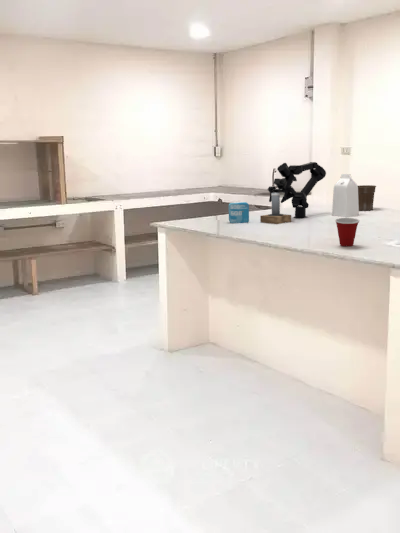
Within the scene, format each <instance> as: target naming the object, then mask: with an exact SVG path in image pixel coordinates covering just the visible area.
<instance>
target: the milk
mask: <svg viewBox="0 0 400 533" xmlns="http://www.w3.org/2000/svg"><path fill="white" fill-rule="evenodd" d="M358 186H359V185H358V184H357V183H356V182H355V181H354V179H353V178H352V176H351V174H350V173H342V174H341V176H340V178H339V179H338V180H337V182H336V183H335V184H334V186H333V190H332V191H333V192H332V194H333V195H332V208H331V216H332V217H338V218H339V217H340V218H353V217H358V216H360V211H359V203H358Z"/></svg>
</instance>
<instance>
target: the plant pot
mask: <svg viewBox="0 0 400 533" xmlns="http://www.w3.org/2000/svg"><path fill="white" fill-rule="evenodd" d="M357 186H358V203H359V212H367V211H368V212H369V211H373V210H374V209H373V208H374V201H375V193H376V187H377V185H374V184H373V185H372V184H371V185H367V184H366V185H357Z"/></svg>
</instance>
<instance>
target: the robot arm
mask: <svg viewBox="0 0 400 533" xmlns="http://www.w3.org/2000/svg"><path fill="white" fill-rule="evenodd" d="M277 171H278V173H279V174H280V175H281V177H282V178H274V179H273V180H274V181H273V185H275V186H276V187H275V186H273V185H272V186H268V188H267V191H268V192H269V199H268V202H269V203H272V196H271V194H272V193H280V194H283V196H282V198H281V199H280V203H281V204H283V203H285V202H286V201H288V200H289V199H291V206H292V208H293V209H294V208H295V209H294V216H293V218H296V219H305V218H308V216H307V215H306V213H307V212H306V211H307V209H308V208H309V203H308V202H307V198H308V196H309V194H310V193H311V192H312V190H313V189H314V187H315V186H316V185H317V183H318V182H319V181H322V180H323V179H324V178H326V175H327V171H326V169H324V167H323V166H321V165H319V164H318V162H316V161H310V162H307V163H303V164H299V165H297V164H293V165H291V164H290V165H289V166H288V163H286V162H283V163H282V164H280V165H279V166H277ZM306 171H309V172H310V178H309V180H308V181H307V183H306V184H305V185H303V186H304V187H303V188H302V189H301V191H300V192H297V191H296V190H295V188H294V187H293V186H292V184H293V183H294V182H297V181H298V180H297V176H299V175H301V174H302V173H303V172H306Z"/></svg>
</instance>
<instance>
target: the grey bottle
mask: <svg viewBox="0 0 400 533" xmlns="http://www.w3.org/2000/svg"><path fill="white" fill-rule="evenodd" d="M271 196H272V201H271V214H272V215H280V214H281V212H280V211H281V208H280V207H281V204H280V203H281V198H280V197H281V193H279V192H278V193H272V194H271Z"/></svg>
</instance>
